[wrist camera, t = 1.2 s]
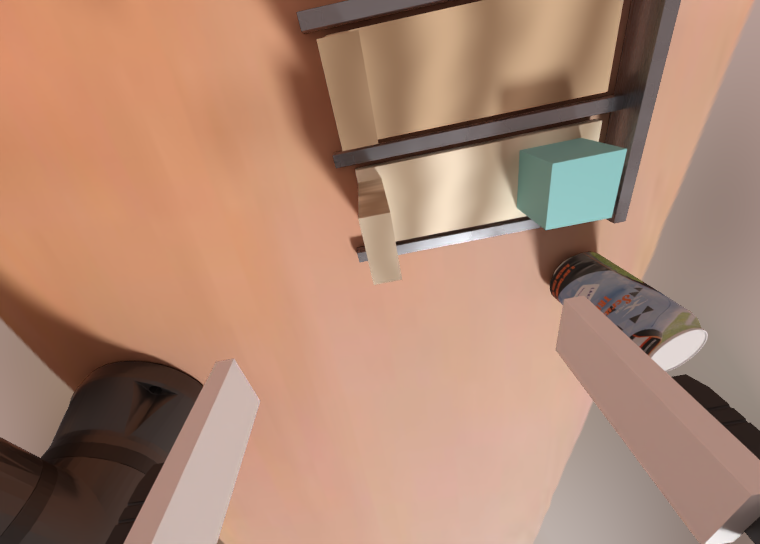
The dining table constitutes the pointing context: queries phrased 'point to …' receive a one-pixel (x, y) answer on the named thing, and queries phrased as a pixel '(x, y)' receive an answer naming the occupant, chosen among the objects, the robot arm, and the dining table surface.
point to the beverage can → (632, 308)
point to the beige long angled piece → (445, 191)
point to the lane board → (625, 129)
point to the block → (569, 182)
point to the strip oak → (466, 64)
